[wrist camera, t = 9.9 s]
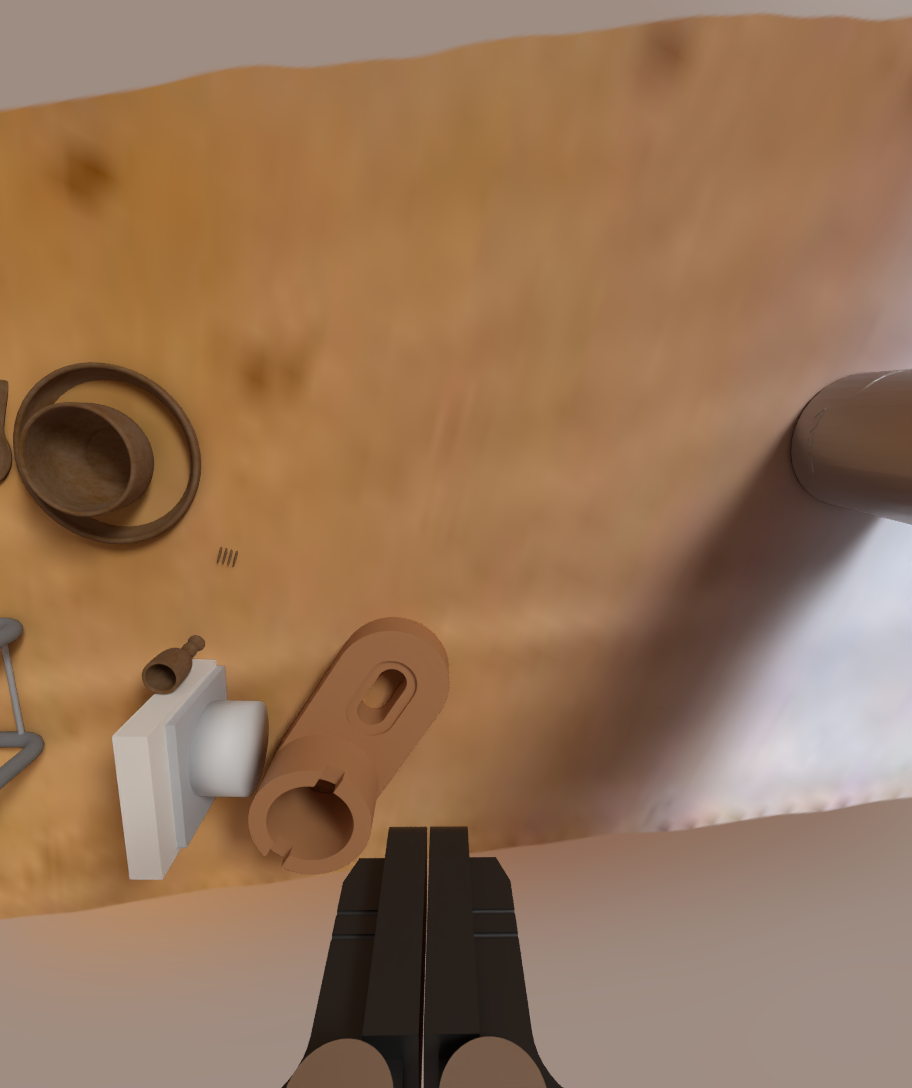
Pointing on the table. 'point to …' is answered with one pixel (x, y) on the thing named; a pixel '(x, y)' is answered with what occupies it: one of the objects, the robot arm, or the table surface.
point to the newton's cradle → (15, 712)
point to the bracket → (348, 747)
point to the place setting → (97, 473)
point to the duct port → (184, 764)
